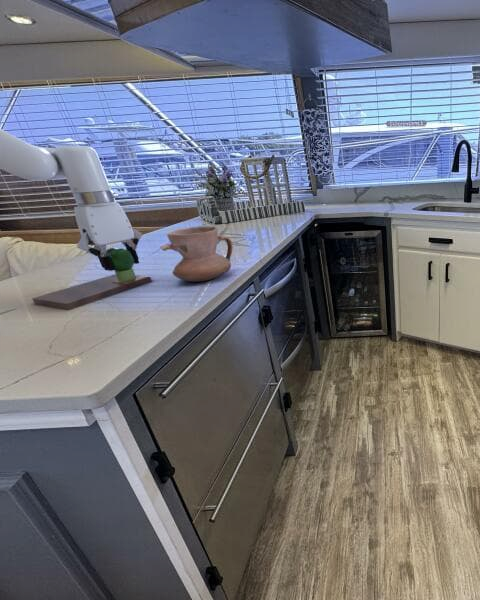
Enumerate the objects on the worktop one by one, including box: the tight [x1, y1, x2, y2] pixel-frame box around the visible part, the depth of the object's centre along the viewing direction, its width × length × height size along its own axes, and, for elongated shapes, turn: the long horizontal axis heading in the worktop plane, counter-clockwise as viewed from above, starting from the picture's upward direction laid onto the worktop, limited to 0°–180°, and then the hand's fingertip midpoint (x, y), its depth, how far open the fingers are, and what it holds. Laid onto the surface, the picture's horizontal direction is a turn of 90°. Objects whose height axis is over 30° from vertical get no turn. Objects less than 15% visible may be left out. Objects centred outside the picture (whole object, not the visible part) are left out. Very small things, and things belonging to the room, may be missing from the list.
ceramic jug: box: [160, 225, 234, 283], centre depth 93 cm, size 18×14×14 cm
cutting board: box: [31, 273, 153, 310], centre depth 87 cm, size 20×14×2 cm
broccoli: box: [106, 247, 136, 282], centre depth 89 cm, size 6×7×9 cm
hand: (122, 266), depth 89 cm, fingers closed on broccoli, 5 cm apart
